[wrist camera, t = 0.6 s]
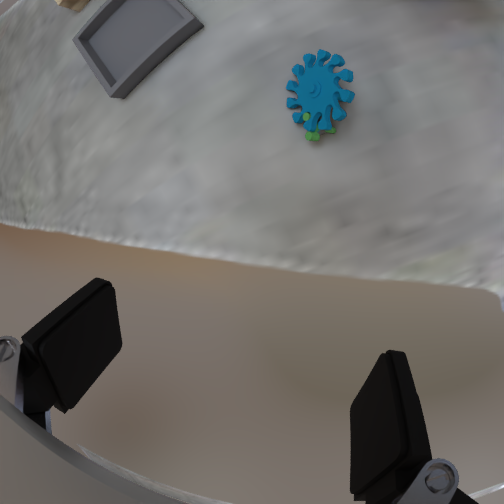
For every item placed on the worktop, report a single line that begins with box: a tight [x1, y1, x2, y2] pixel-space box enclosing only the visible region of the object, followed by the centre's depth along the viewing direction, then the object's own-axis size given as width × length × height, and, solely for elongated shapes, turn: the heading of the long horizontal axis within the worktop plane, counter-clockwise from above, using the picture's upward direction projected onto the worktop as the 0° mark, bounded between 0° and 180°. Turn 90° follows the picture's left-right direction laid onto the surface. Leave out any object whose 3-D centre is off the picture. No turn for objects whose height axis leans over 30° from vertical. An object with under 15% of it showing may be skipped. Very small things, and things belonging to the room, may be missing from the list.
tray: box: [72, 0, 204, 99], centre depth 29 cm, size 16×16×4 cm
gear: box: [286, 49, 355, 141], centre depth 29 cm, size 11×6×10 cm
